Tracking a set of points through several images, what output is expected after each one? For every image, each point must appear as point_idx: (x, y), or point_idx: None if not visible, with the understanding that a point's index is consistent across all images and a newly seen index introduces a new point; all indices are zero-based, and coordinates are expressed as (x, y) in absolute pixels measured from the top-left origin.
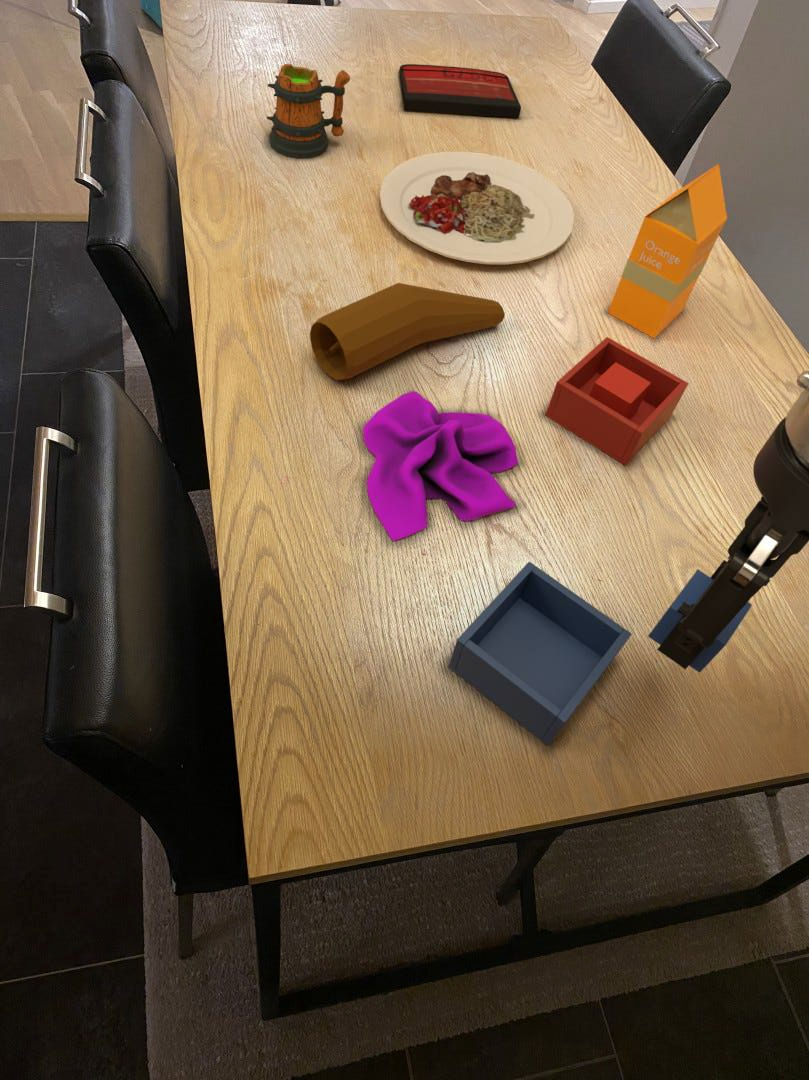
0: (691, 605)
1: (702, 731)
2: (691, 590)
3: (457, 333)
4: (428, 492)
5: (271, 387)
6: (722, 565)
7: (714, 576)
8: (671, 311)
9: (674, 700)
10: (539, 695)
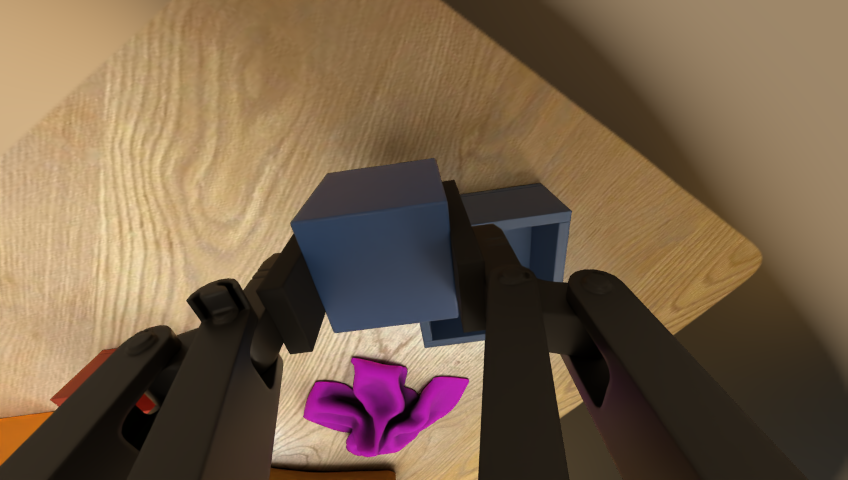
0: (469, 331)
1: (384, 63)
2: (390, 316)
3: (275, 474)
4: (410, 394)
5: (435, 477)
6: (306, 348)
7: (321, 314)
8: (10, 440)
9: (381, 120)
10: (558, 249)
